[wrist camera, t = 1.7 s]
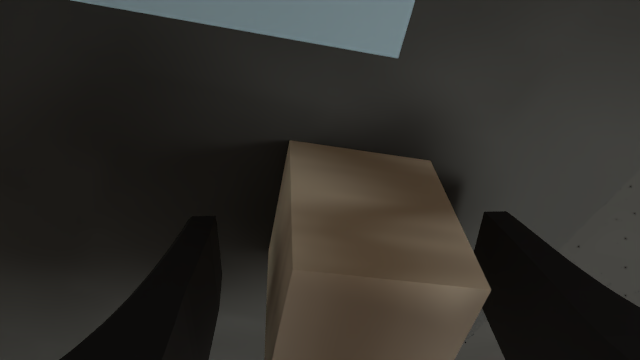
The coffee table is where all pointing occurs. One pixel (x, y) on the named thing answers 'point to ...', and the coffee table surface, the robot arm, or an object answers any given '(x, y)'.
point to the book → (294, 19)
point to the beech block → (367, 261)
